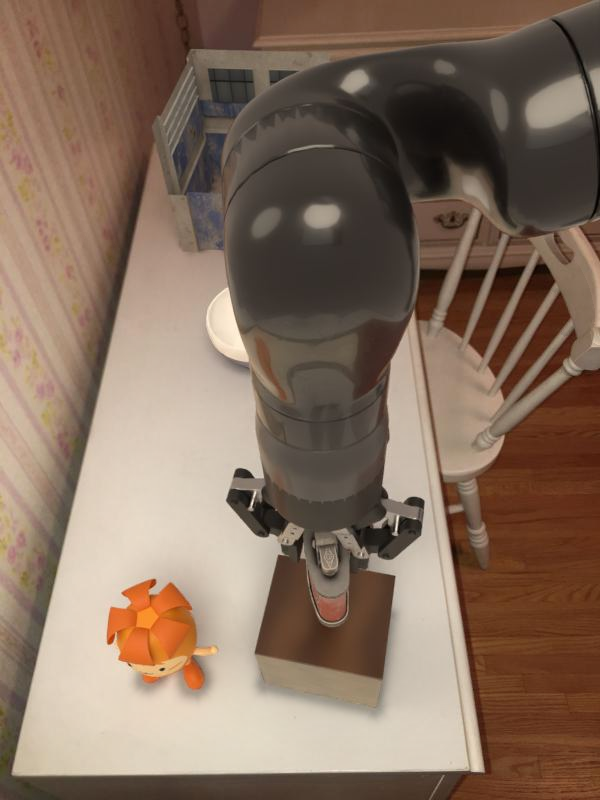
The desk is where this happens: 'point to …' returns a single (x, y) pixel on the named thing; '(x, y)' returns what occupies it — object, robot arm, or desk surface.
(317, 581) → the lighter
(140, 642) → the toy figure
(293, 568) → the block
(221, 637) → the desk surface
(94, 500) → the desk surface
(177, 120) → the building
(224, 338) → the bowl
